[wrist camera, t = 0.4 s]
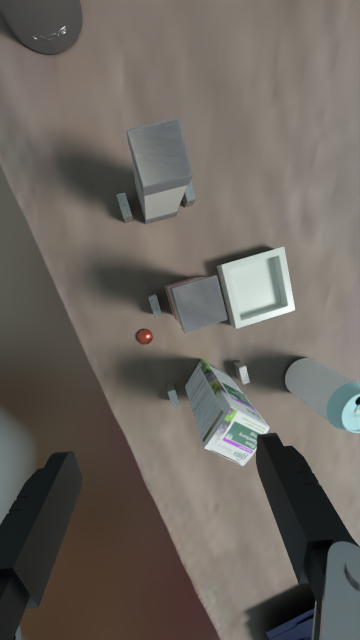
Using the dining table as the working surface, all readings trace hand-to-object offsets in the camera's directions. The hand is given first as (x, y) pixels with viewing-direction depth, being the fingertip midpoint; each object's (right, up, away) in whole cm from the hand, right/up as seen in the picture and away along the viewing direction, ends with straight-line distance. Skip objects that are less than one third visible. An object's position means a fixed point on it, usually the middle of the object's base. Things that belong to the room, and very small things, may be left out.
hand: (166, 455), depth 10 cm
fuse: (-3, +23, +23) cm, 32 cm away
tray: (+12, +11, +27) cm, 32 cm away
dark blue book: (+32, -67, +44) cm, 86 cm away
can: (+23, -4, +31) cm, 39 cm away
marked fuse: (+1, +10, +26) cm, 27 cm away
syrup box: (+5, -4, +29) cm, 30 cm away
